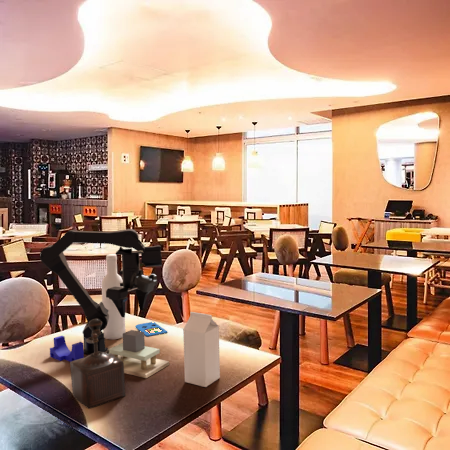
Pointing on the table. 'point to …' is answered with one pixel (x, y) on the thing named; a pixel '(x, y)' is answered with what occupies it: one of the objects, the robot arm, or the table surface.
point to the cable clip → (66, 350)
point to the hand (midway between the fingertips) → (132, 313)
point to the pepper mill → (97, 374)
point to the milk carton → (201, 350)
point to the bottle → (115, 321)
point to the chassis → (142, 366)
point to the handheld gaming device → (150, 327)
